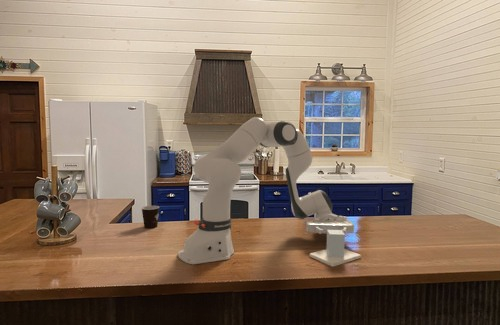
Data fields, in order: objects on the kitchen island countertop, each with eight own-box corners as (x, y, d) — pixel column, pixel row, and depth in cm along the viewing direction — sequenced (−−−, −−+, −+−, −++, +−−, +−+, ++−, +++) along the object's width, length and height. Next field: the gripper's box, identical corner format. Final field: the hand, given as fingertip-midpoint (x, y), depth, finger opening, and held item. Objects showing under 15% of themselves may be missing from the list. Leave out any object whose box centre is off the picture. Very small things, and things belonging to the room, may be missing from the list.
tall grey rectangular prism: (328, 256, 132) (329, 234, 131) (326, 251, 138) (327, 229, 137) (344, 257, 132) (344, 234, 131) (340, 251, 137) (341, 230, 136)
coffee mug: (149, 230, 168) (148, 210, 167) (138, 227, 173) (138, 207, 172) (167, 225, 177) (167, 206, 176) (157, 222, 182) (156, 203, 181)
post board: (332, 266, 125) (333, 245, 125) (309, 256, 135) (310, 236, 134) (360, 257, 134) (361, 237, 133) (337, 248, 144) (338, 229, 143)
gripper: (304, 215, 155) (307, 224, 141) (349, 216, 154) (357, 225, 140) (304, 229, 156) (307, 239, 142) (349, 230, 155) (356, 240, 141)
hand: (332, 232), depth 141 cm, fingers open, 8 cm apart
